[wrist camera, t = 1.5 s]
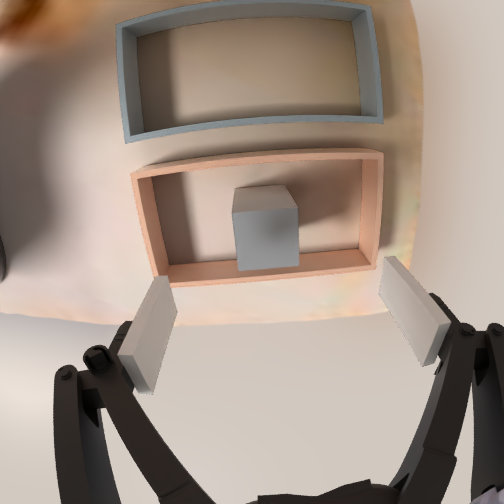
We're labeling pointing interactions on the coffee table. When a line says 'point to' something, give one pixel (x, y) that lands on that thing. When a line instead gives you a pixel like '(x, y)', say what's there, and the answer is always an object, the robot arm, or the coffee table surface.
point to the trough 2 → (307, 267)
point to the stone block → (265, 228)
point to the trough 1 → (236, 7)
